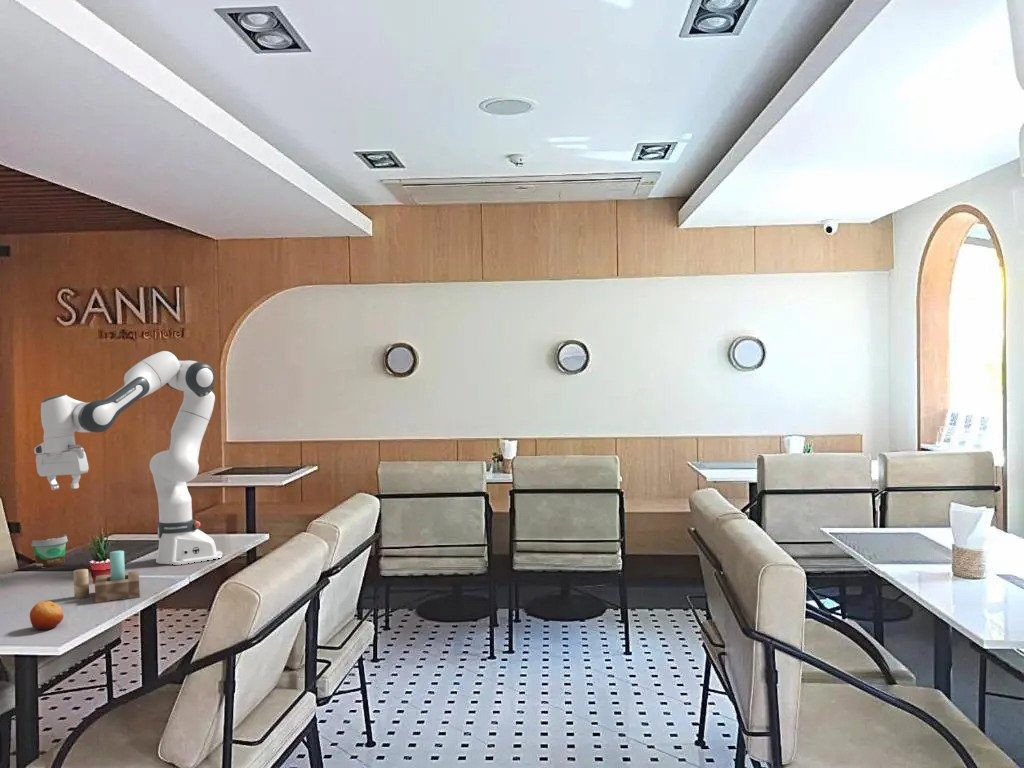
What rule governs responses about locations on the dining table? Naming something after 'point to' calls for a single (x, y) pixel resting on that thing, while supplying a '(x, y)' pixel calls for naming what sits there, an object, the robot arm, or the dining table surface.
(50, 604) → the fruit
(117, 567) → the long pin
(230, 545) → the dining table surface
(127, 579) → the hole block
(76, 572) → the short pin
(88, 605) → the dining table surface
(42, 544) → the food container
